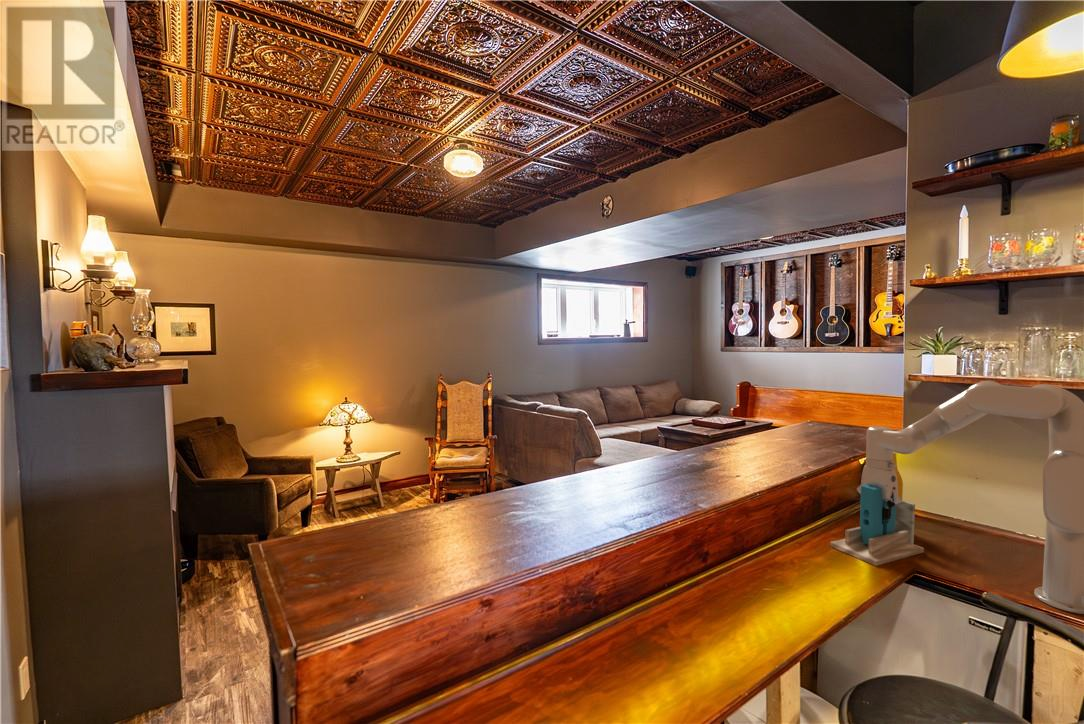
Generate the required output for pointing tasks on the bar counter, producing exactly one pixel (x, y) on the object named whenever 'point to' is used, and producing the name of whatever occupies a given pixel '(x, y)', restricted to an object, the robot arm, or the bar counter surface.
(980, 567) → the bar counter surface
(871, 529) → the block
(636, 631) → the bar counter surface
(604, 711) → the bar counter surface
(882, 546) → the book stand
